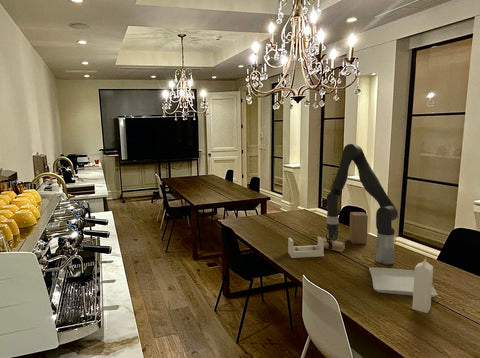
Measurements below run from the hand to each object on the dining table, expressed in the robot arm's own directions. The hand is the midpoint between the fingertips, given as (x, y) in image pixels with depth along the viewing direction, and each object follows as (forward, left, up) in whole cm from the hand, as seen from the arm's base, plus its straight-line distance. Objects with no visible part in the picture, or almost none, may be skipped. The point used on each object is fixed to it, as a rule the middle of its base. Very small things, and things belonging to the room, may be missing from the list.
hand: (332, 247), depth 224 cm
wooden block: (+10, -22, -1) cm, 24 cm away
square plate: (-56, -14, -1) cm, 58 cm away
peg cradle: (-8, +20, 0) cm, 22 cm away
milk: (-78, -11, -1) cm, 79 cm away
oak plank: (0, 0, -1) cm, 1 cm away
